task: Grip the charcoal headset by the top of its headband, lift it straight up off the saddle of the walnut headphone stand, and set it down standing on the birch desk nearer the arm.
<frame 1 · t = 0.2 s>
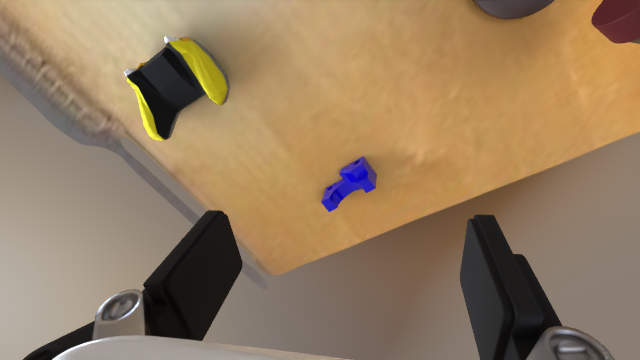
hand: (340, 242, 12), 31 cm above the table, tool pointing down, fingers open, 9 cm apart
gaming controller: (187, 82, 44), on the table
cable holder: (347, 177, 46), on the table
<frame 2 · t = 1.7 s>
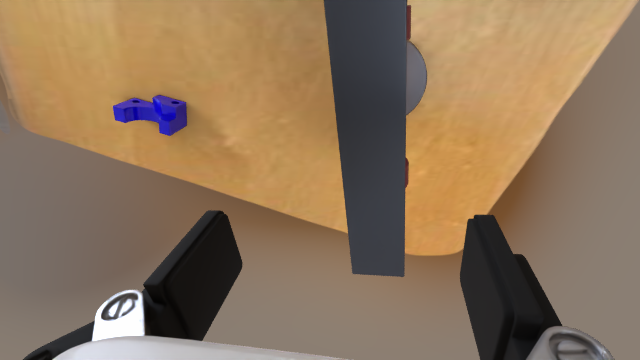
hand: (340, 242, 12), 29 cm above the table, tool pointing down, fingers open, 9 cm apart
headset: (379, 98, 29), point 8 cm above the table, touching stand
cable holder: (161, 106, 44), on the table
stand: (381, 80, 36), on the table
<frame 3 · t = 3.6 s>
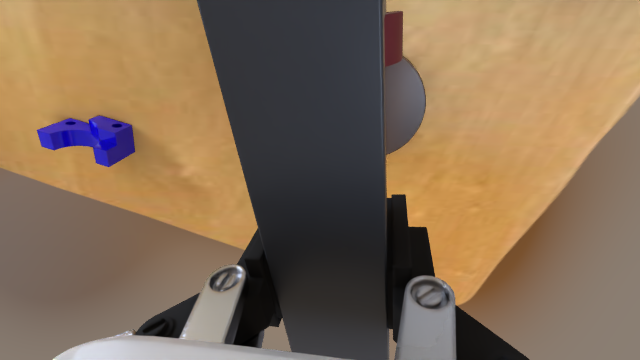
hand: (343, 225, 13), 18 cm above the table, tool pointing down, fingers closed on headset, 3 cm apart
headset: (361, 135, 21), point 8 cm above the table, touching gripper, stand
cable holder: (103, 128, 36), on the table
stand: (368, 103, 28), on the table
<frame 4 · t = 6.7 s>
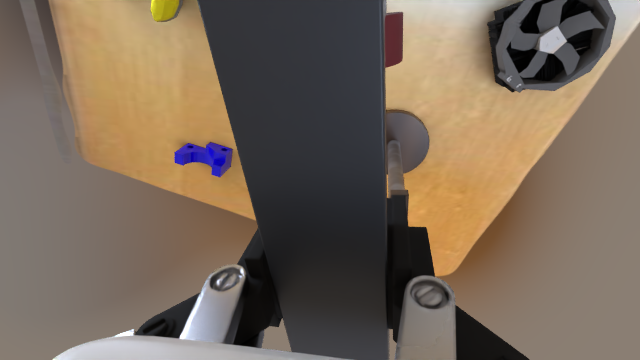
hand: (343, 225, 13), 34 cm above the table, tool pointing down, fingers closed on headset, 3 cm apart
cpu cooler: (532, 38, 37), on the table
headset: (361, 136, 21), point 24 cm above the table, touching gripper
cable holder: (210, 150, 53), on the table
stand: (393, 142, 46), on the table
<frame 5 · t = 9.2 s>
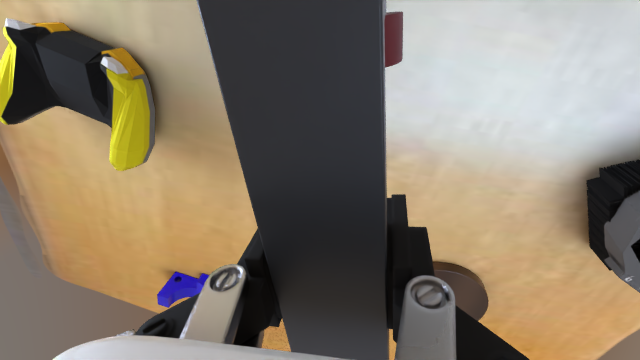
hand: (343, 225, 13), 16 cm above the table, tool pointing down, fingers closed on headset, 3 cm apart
gaming controller: (102, 86, 30), on the table
headset: (361, 135, 21), point 5 cm above the table, touching gripper
cable holder: (203, 280, 43), on the table
stand: (437, 294, 35), on the table
when the fingers open (10 cm above the table, at t = 10.8 s): headset stays where it is, on the table.
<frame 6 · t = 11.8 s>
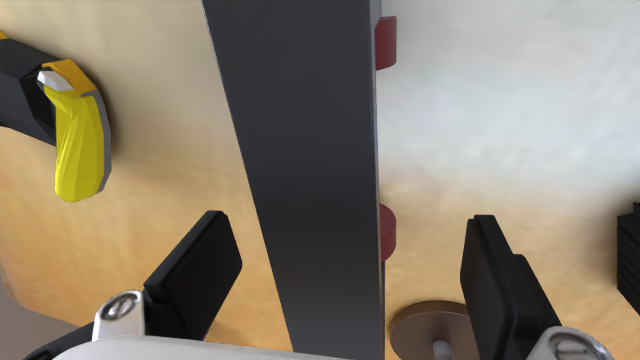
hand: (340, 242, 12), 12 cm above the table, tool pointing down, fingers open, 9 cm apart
gaming controller: (52, 102, 26), on the table
headset: (358, 135, 22), on the table
stand: (440, 334, 31), on the table
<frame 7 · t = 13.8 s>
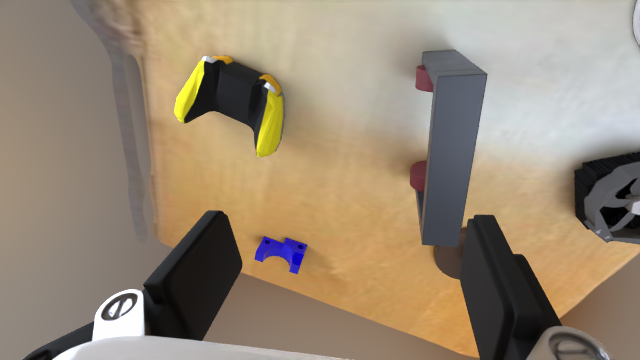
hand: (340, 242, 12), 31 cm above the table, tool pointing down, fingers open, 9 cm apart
gaming controller: (243, 97, 43), on the table
cpu cooler: (616, 184, 39), on the table
headset: (432, 122, 40), on the table
cable holder: (284, 243, 56), on the table
stand: (467, 252, 49), on the table
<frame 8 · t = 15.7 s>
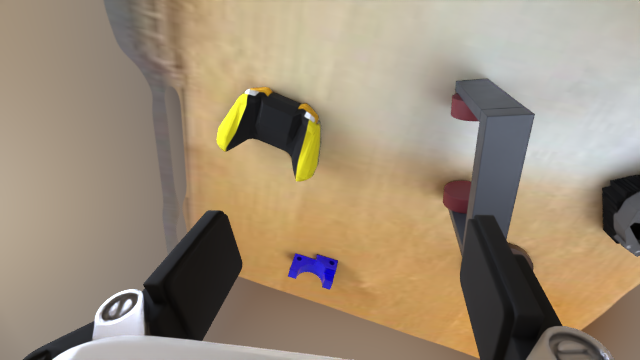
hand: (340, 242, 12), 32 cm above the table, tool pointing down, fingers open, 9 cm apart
gaming controller: (280, 124, 45), on the table
headset: (464, 145, 41), on the table
cable holder: (315, 259, 58), on the table
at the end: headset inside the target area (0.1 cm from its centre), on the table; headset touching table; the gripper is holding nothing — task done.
